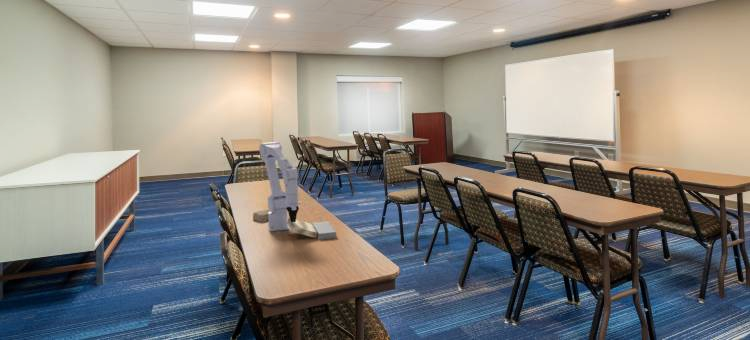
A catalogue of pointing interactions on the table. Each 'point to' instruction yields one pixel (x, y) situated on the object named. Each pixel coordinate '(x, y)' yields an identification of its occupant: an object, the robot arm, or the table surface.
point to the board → (324, 230)
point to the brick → (261, 215)
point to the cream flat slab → (302, 228)
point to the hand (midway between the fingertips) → (293, 221)
